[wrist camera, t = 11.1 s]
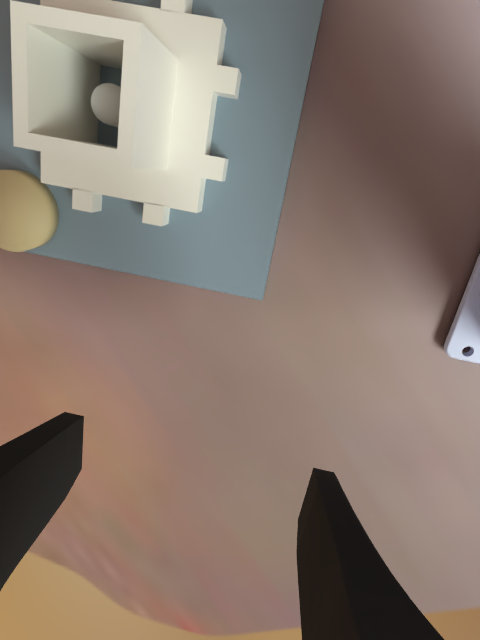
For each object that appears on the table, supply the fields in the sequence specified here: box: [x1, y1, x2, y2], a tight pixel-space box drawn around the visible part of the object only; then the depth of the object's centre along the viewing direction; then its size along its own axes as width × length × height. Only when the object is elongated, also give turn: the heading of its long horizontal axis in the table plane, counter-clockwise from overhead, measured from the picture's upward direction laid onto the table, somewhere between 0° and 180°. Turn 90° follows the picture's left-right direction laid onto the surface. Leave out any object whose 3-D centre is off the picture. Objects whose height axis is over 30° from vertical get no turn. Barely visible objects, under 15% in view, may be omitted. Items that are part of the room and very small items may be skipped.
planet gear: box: [10, 0, 242, 226], centre depth 15 cm, size 9×9×5 cm
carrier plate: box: [0, 0, 324, 300], centre depth 16 cm, size 14×14×4 cm
